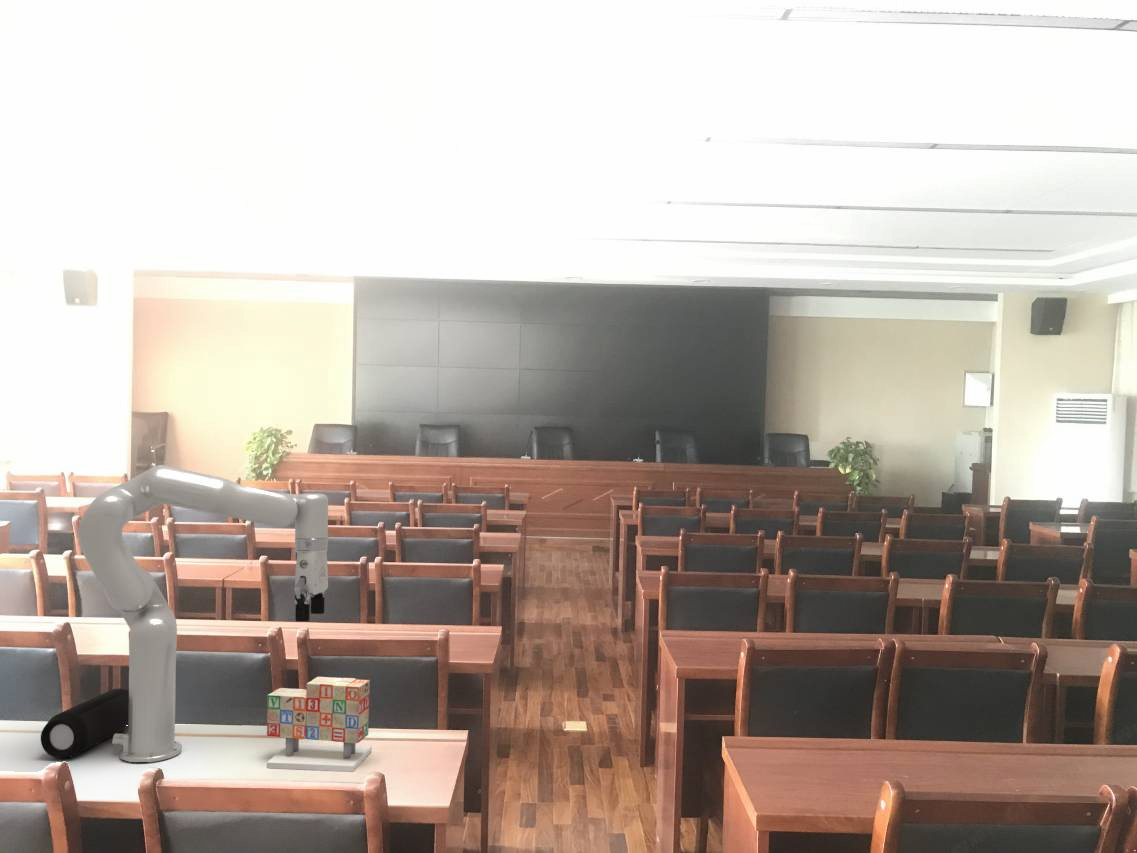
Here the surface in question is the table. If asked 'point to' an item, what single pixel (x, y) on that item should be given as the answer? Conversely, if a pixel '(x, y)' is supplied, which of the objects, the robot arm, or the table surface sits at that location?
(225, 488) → the robot arm
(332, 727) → the stack of blocks
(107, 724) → the portable speaker
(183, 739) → the table surface
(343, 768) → the peg board
